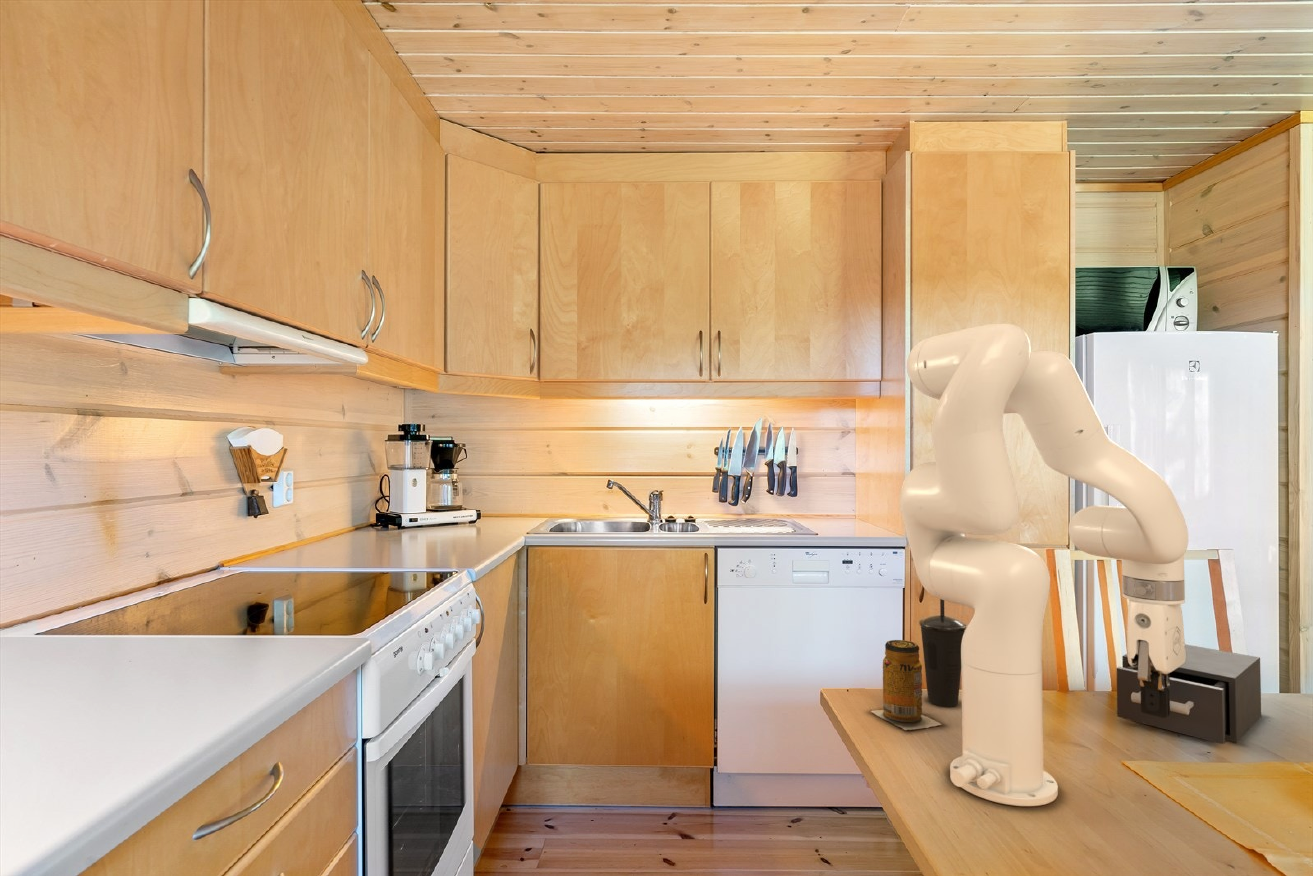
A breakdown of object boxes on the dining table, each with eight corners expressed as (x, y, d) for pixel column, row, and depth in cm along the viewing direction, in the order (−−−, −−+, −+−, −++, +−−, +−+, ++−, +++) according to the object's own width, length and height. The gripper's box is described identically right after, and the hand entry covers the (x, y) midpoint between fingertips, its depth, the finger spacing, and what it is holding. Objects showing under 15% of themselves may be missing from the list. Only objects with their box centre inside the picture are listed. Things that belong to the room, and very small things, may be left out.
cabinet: (1236, 743, 102) (1235, 678, 102) (1123, 714, 114) (1122, 656, 114) (1261, 716, 113) (1260, 657, 113) (1155, 692, 124) (1154, 638, 124)
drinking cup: (972, 711, 115) (970, 591, 115) (923, 708, 116) (922, 590, 117) (961, 696, 122) (960, 583, 123) (916, 693, 124) (915, 581, 124)
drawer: (1215, 752, 97) (1214, 696, 97) (1107, 723, 107) (1106, 673, 108) (1248, 718, 109) (1247, 669, 110) (1148, 695, 120) (1147, 650, 120)
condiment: (905, 707, 117) (905, 636, 117) (942, 725, 109) (941, 649, 109) (870, 712, 114) (869, 640, 115) (904, 732, 106) (904, 654, 107)
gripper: (1167, 600, 94) (1170, 735, 94) (1198, 586, 103) (1201, 709, 103) (1105, 592, 100) (1107, 719, 100) (1140, 579, 109) (1142, 695, 109)
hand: (1155, 714), depth 101 cm, fingers closed
